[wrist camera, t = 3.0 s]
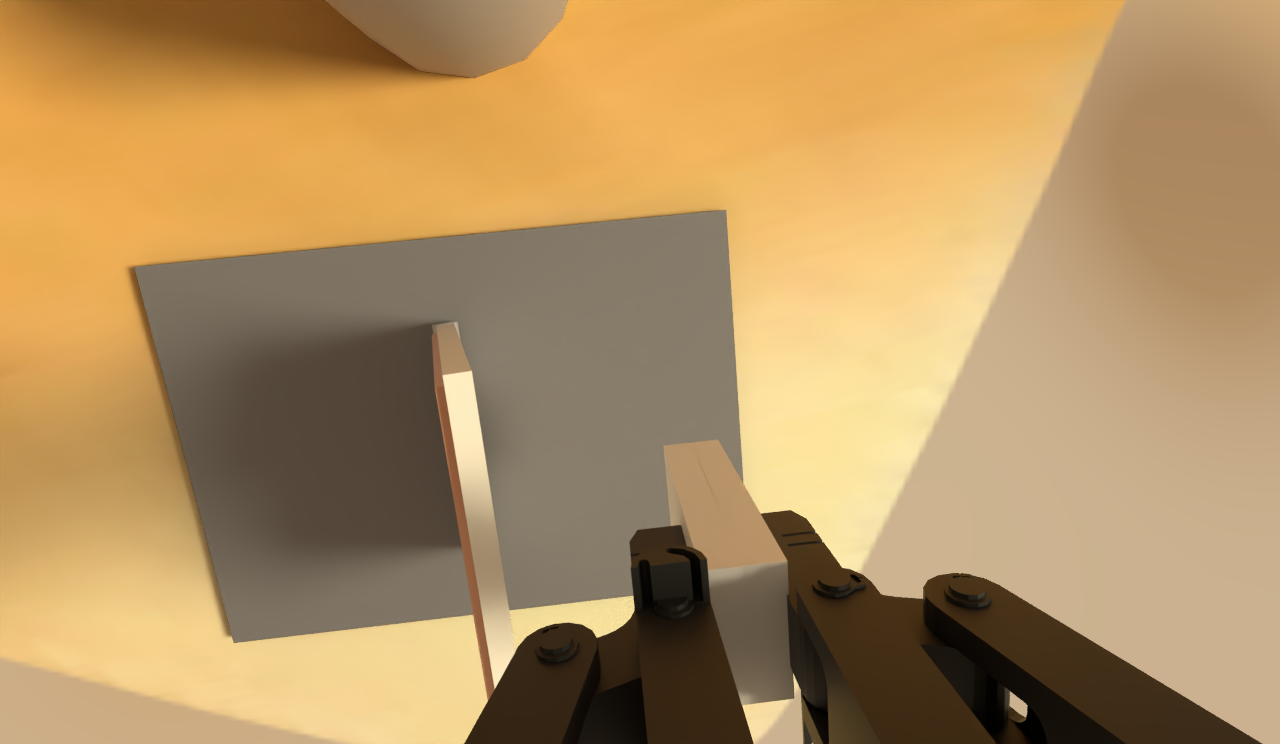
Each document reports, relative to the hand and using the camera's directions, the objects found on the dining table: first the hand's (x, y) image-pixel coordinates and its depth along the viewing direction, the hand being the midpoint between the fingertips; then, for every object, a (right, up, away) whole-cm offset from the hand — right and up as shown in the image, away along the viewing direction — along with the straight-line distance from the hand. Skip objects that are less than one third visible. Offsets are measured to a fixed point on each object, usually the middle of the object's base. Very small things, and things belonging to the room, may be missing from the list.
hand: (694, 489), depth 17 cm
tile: (-6, 0, +2) cm, 6 cm away
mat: (-8, +1, +7) cm, 11 cm away
